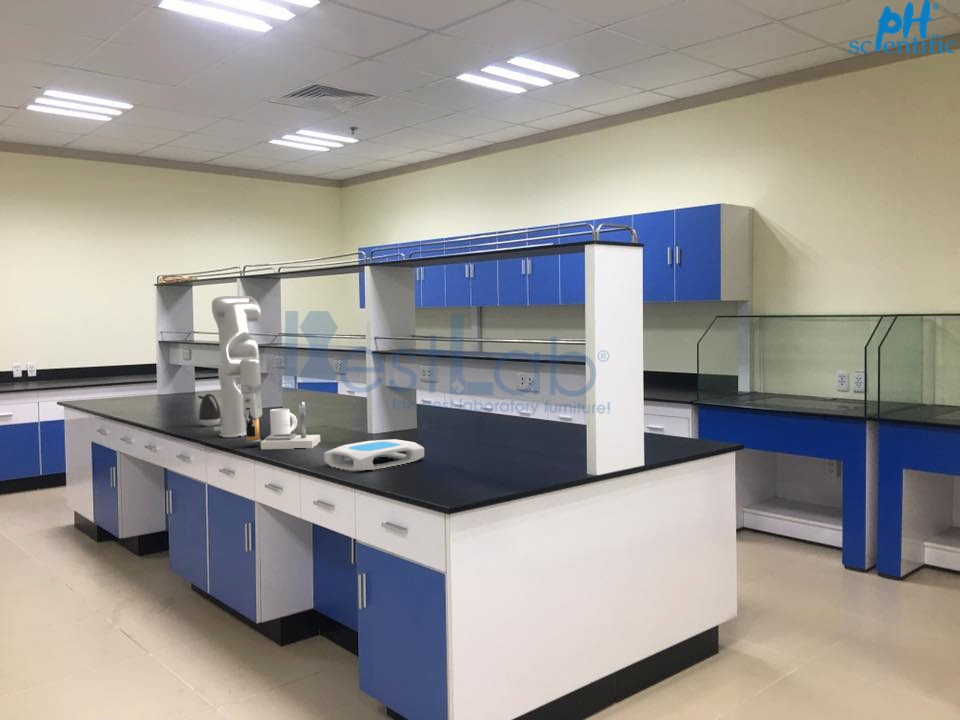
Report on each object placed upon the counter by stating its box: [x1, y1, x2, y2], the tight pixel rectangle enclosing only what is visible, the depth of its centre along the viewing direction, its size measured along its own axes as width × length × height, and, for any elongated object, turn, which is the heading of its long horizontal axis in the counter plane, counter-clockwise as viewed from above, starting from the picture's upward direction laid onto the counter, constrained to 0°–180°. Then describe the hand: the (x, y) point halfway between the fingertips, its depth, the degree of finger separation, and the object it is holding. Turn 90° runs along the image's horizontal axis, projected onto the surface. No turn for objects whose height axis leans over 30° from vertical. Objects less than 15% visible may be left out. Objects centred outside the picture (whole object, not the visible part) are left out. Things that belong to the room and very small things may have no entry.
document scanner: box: [323, 438, 425, 472], centre depth 272 cm, size 21×28×6 cm
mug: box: [269, 407, 298, 435], centre depth 331 cm, size 8×12×12 cm
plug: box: [245, 417, 262, 444], centre depth 311 cm, size 6×6×10 cm
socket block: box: [260, 433, 321, 450], centre depth 311 cm, size 20×14×4 cm
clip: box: [298, 401, 307, 438], centre depth 304 cm, size 14×2×14 cm, turn 12°
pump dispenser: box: [198, 393, 222, 427], centre depth 371 cm, size 10×10×15 cm
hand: (253, 434), depth 311 cm, fingers closed on plug, 4 cm apart
